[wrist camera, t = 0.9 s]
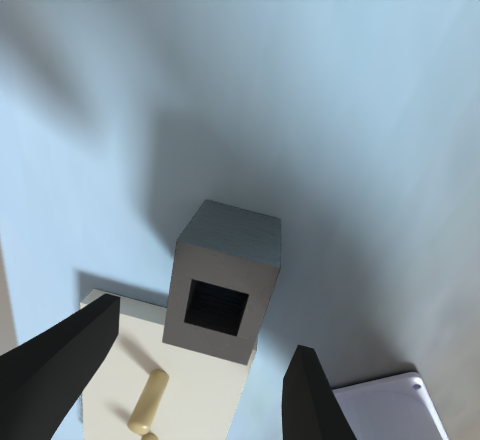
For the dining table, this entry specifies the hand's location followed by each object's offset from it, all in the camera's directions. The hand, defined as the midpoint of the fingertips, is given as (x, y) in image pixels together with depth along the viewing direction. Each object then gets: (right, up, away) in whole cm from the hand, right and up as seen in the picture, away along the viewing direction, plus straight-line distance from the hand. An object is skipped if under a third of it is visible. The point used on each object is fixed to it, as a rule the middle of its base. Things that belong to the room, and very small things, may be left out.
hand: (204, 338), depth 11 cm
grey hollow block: (+1, +3, +6) cm, 7 cm away
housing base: (-5, -10, +12) cm, 17 cm away
